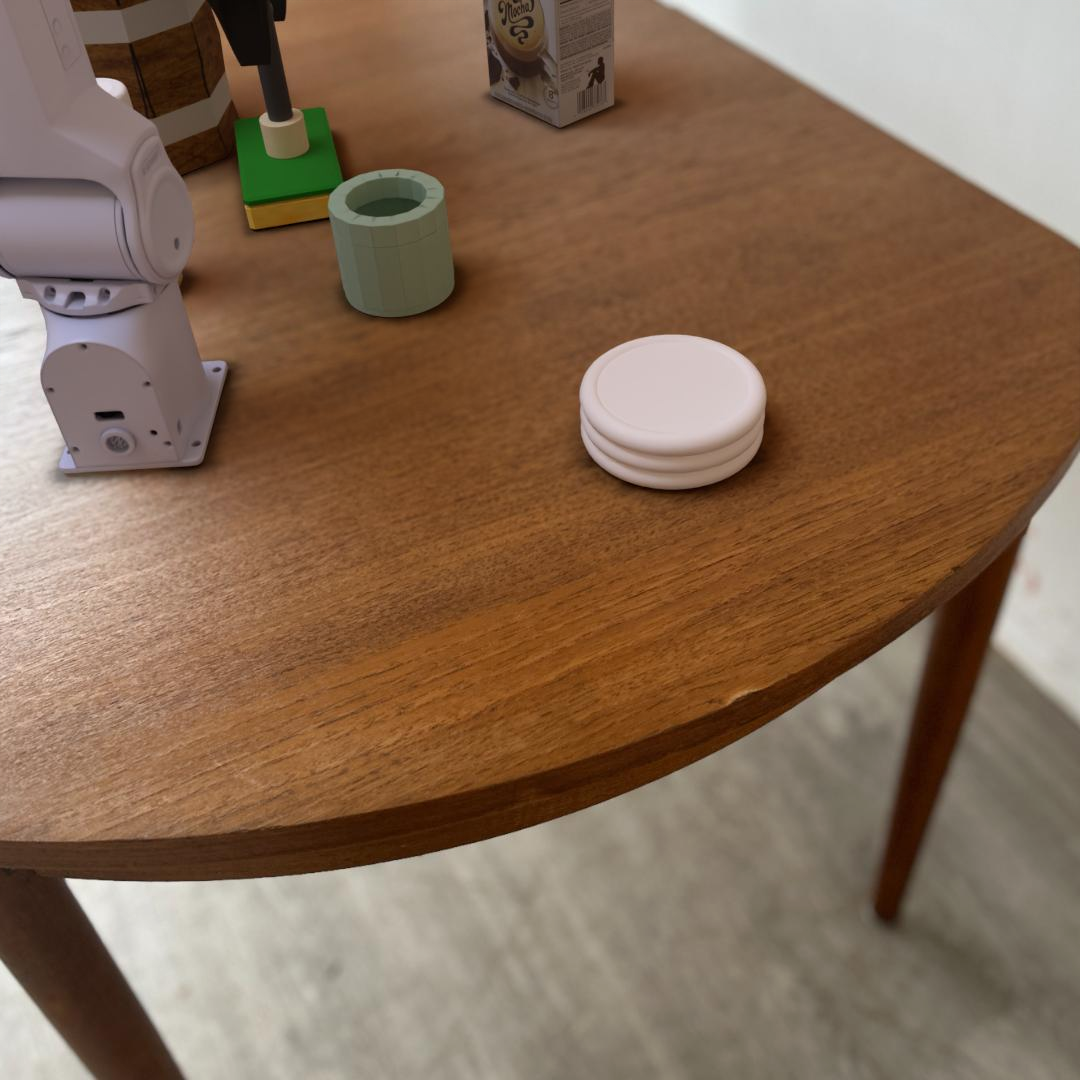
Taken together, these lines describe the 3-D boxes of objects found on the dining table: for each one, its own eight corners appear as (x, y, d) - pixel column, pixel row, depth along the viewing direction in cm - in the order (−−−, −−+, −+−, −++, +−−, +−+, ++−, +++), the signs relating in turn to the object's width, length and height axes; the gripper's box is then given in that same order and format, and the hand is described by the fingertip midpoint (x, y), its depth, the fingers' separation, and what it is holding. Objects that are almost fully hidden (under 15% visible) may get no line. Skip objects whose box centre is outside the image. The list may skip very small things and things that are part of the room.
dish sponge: (329, 134, 95) (323, 104, 94) (349, 215, 86) (344, 184, 84) (240, 147, 95) (233, 118, 93) (250, 232, 85) (242, 200, 83)
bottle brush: (306, 157, 87) (275, 3, 80) (263, 160, 87) (228, 6, 80) (311, 138, 90) (281, -15, 82) (269, 141, 90) (235, -11, 82)
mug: (256, 161, 93) (209, -43, 82) (79, 198, 90) (6, -8, 79) (219, 68, 106) (174, -117, 96) (64, 98, 103) (0, -90, 93)
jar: (453, 313, 76) (442, 221, 71) (340, 320, 76) (322, 229, 71) (455, 254, 81) (445, 165, 76) (350, 261, 81) (333, 172, 77)
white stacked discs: (562, 398, 69) (559, 347, 66) (726, 367, 70) (730, 317, 68) (608, 510, 62) (607, 458, 59) (790, 474, 63) (796, 422, 61)
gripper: (265, -154, 68) (309, 80, 78) (295, -214, 79) (331, -1, 88) (142, -145, 68) (202, 87, 78) (189, -207, 79) (236, 5, 88)
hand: (263, 41), depth 83 cm, fingers open, 7 cm apart
